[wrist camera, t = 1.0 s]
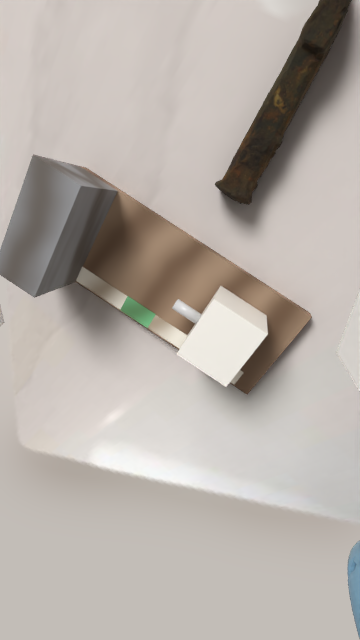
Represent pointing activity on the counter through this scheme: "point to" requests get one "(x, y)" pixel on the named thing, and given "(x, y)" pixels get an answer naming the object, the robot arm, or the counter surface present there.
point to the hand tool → (283, 100)
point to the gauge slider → (222, 335)
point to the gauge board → (130, 260)
